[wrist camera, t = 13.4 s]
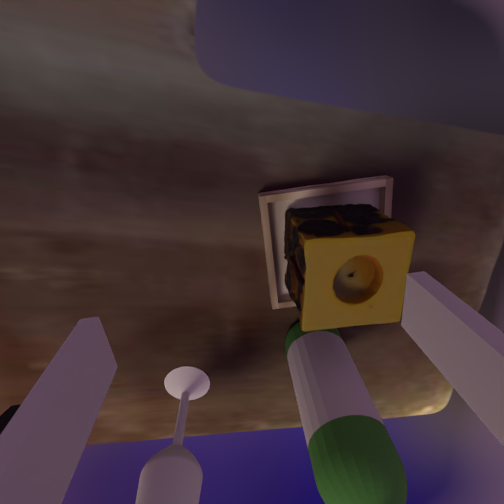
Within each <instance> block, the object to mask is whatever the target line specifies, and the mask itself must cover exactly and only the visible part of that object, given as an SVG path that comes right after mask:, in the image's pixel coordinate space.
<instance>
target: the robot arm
mask: <svg viewBox="0 0 504 504" xmlns="http://www.w3.org/2000/svg"><path fill="white" fill-rule="evenodd" d="M401 326H402V327H403V328H404V329H405V330H406V332H407V333H408V334H409V335H410V336H411V338H412V339H413V340H414V341H415V342H416V344H417V345H418V346H419V347H420V348H421V349H422V351H423V352H424V353H425V354H426V355H427V357H428V358H429V359H430V360H431V361H432V362H433V364H434V365H435V366H436V367H437V368H438V370H439V371H440V372H441V373H442V374H443V376H444V377H445V378H446V379H447V380H448V381H449V383H450V384H451V385H452V386H453V387H454V389H455V390H456V391H457V392H458V393H459V394H460V396H461V397H462V398H463V399H464V400H465V402H466V403H467V404H468V405H469V406H470V407H471V409H472V410H473V411H474V412H475V413H476V415H477V416H478V417H479V418H480V419H481V421H482V422H483V423H484V424H485V425H486V426H487V428H488V429H489V430H490V431H491V432H492V434H493V435H494V436H495V437H496V438H497V440H498V441H499V442H500V443H501V444H502V445H503V447H504V332H501V331H500V330H499V329H498V328H496V327H495V326H494V325H493V324H492V323H490V322H489V321H488V320H486V319H485V318H484V317H482V316H481V315H480V314H479V313H477V312H476V311H475V310H474V309H472V308H471V307H470V306H468V305H467V304H466V303H465V302H463V301H462V300H461V299H459V298H458V297H457V296H456V295H454V294H453V293H452V292H451V291H449V290H448V289H447V288H445V287H444V286H443V285H442V284H440V283H439V282H438V281H436V280H435V279H434V278H433V277H431V276H430V275H429V274H427V273H426V272H425V271H422V272H415V273H407V279H406V288H405V296H404V305H403V314H402V323H401ZM117 367H118V366H117V363H116V361H115V358H114V356H113V353H112V350H111V348H110V345H109V342H108V340H107V337H106V335H105V332H104V329H103V327H102V324H101V321H100V319H99V317H92V318H85V319H80V320H79V321H78V323H77V324H76V326H75V327H74V329H73V330H72V332H71V333H70V334H69V336H68V337H67V339H66V340H65V342H64V343H63V345H62V346H61V347H60V349H59V350H58V352H57V353H56V355H55V356H54V358H53V359H52V361H51V362H50V363H49V365H48V366H47V368H46V369H45V371H44V372H43V374H42V375H41V376H40V378H39V379H38V381H37V382H36V384H35V385H34V387H33V388H32V390H31V391H30V392H29V394H28V395H27V397H26V398H25V400H24V401H23V403H22V404H21V405H14V406H11V407H10V408H9V409H8V410H6V411H5V412H4V413H3V414H2V415H1V416H0V504H61V503H62V501H63V498H64V496H65V493H66V491H67V489H68V486H69V484H70V481H71V479H72V476H73V474H74V472H75V469H76V467H77V464H78V462H79V459H80V457H81V455H82V452H83V449H84V447H85V445H86V442H87V440H88V438H89V435H90V433H91V430H92V428H93V425H94V423H95V421H96V418H97V416H98V413H99V411H100V408H101V406H102V404H103V401H104V399H105V396H106V394H107V391H108V389H109V387H110V384H111V382H112V379H113V377H114V374H115V372H116V370H117Z"/></svg>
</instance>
